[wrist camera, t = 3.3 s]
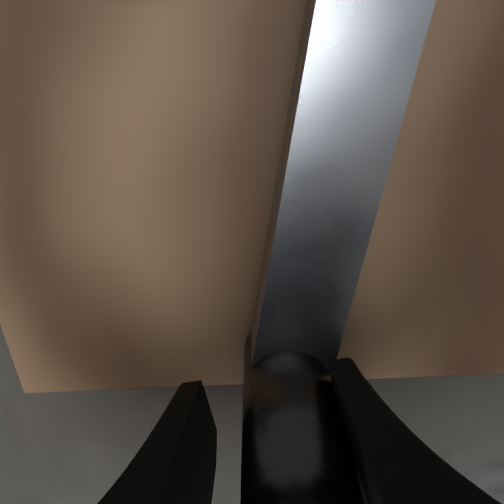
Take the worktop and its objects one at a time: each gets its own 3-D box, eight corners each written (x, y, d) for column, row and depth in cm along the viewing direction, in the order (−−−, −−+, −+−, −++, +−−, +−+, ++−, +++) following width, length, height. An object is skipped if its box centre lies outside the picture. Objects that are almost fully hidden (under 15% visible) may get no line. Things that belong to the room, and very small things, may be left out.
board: (814, -455, 9) (1257, -856, 5) (563, 350, 17) (653, 435, 13) (-205, -380, 9) (-537, -698, 5) (38, 371, 17) (-22, 460, 14)
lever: (314, -336, 8) (438, -1105, 3) (528, -290, 9) (1026, -910, 3) (217, 372, 16) (199, 546, 10) (335, 385, 16) (381, 561, 10)
